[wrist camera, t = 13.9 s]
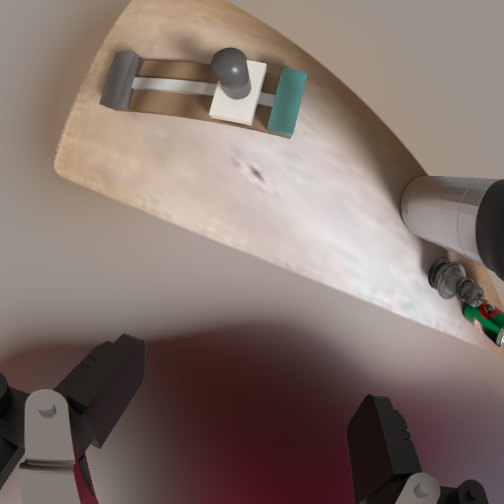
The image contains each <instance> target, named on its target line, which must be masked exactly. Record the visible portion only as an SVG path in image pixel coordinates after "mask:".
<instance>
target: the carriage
mask: <svg viewBox="0 0 504 504" xmlns="http://www.w3.org/2000/svg"><path fill="white" fill-rule="evenodd" d="M211 65H212V68H213V70H214V72H215V74H216V76H217V78H218V80H219V81H218V84H217V88H216V91H215V94H214V98H213V101H212V105H211V108H210V112H209V115H210V116H211V117H212V118H215V119H221V120H226V121H232V122H237V123H242V124H247V125H252V122H253V118H254V114H255V110H256V106H257V103H258V99H259V95H260V92H261V88H262V84H263V81H264V77H265V73H266V70H267V67H266V63H261V62H255V61H250V60H246V57H245V55H244V53H243V52H242V51H240V50H238V49H236V48H225V49H222V50H220V51H218V52H217V53H216V54H215V55H214V56H213V58H212V62H211Z"/></svg>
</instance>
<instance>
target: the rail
mask: <svg viewBox="0 0 504 504" xmlns="http://www.w3.org/2000/svg"><path fill="white" fill-rule="evenodd" d="M307 74H308V73H305V72H301V71H297V70H293V69H289V68H285V67H283V69H282V73H281V77H280V76H275V75H271V74H266V73H265V77H264V81H263V84H262V88H261V92H260V95H259V99H258V103H257V106H256V110H255V114H254V118H253V122H252V125H247V124H242V123H237V122H232V121H226V120H221V119H215V118H212V117H211V116H210V115H209V112H210V108H211V105H212V101H213V98H214V94H215V91H216V88H217V84H218V81H219V80H218V78H217V76H216V74H215V72H214V70H213V68H212V65H209V64H200V63H189V62H175V61H147V60H143V59H142V58H141V57H140V56H138V55H137V54H136V53H135V52H118V53H116V55H115V58H114V61H113V63H112V66H111V69H110V72H109V75H108V78H107V81H106V84H105V87H104V90H103V93H102V97H101V100H100V103H99V104H101V105H104V106H106V107H109V108H111V109H114V110H116V111H129V112H141V113H151V114H160V115H169V116H177V117H184V118H191V119H197V120H204V121H210V122H215V123H221V124H226V125H231V126H237V127H241V128H246V129H251V130H255V131H260V132H264V133H269V134H273V135H277V136H281V137H285V138H289V139H290V138H291V136H292V134H293V132H294V128H295V123H296V119H297V115H298V111H299V107H300V103H301V99H302V95H303V91H304V87H305V82H306V78H307Z"/></svg>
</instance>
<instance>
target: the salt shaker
mask: <svg viewBox="0 0 504 504" xmlns="http://www.w3.org/2000/svg"><path fill="white" fill-rule="evenodd" d="M428 280H429V284H430V286H431V287H432V288H434V289H436V290H438V292H439V294H440V296H441V297H442V298H444V299H451V298H453V297H455V296H457V298H458V300H459V301H463V302H464V301H465V302H467V303H468V304H469V305H471V306H473V307H476V306H479V305H480V304H481V303H484V290H483V289H482V288H481V287H479V286H478V285H476V284H474V281H473V280H472V279H471V278H466V273H465V269H464V267H463V266H462V265H461V264H460V263H458V262H453V263H451V262H450V261H449V260H448V259H446V258H441V259H438V260H437V261H435V262H434V263H433V265H432V266H431V268H430V270H429V274H428Z"/></svg>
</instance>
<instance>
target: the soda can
mask: <svg viewBox="0 0 504 504" xmlns="http://www.w3.org/2000/svg"><path fill="white" fill-rule="evenodd" d="M464 316H465V319H466V320H467V321H469V322H470V323H471V324H472V325H473V326H475V327H476V328H477V329H478V330H479V331H480V332H482V333H483V334H484V335H485V336H486V337H487V338H489V339H490V340H491V341H492V342H493V343H494V344H495V345H496V346H498V347H502V348H504V311H502V310H501V309H499V308H498V307H496V306H495V305H493V304H492V303H490V302H489V301H487V300H486V299H484V303H481V304H480V305H479V306H476V307H473V306H471V305H469V304H468V303H466V306H465V309H464Z"/></svg>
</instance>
